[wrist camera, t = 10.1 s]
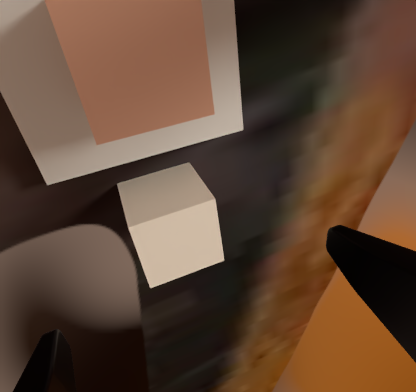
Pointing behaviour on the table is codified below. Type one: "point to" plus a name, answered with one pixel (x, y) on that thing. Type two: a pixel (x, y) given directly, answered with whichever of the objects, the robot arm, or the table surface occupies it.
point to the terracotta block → (135, 62)
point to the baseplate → (71, 104)
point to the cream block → (172, 223)
